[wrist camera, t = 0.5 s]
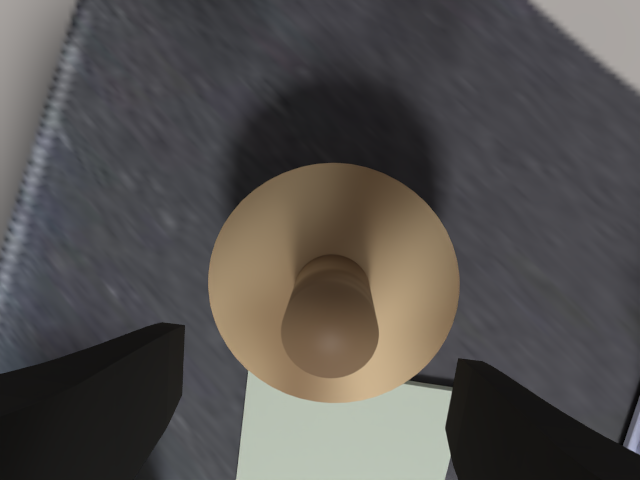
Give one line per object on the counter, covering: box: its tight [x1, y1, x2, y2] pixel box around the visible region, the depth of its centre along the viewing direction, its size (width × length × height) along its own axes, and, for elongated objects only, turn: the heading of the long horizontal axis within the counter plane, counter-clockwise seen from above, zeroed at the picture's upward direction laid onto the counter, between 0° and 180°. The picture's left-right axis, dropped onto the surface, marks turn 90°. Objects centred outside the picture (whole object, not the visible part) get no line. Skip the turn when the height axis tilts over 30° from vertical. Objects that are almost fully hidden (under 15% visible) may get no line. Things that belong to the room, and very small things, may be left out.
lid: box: [208, 163, 459, 403], centre depth 15 cm, size 10×10×5 cm
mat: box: [236, 370, 453, 480], centre depth 23 cm, size 11×11×1 cm
